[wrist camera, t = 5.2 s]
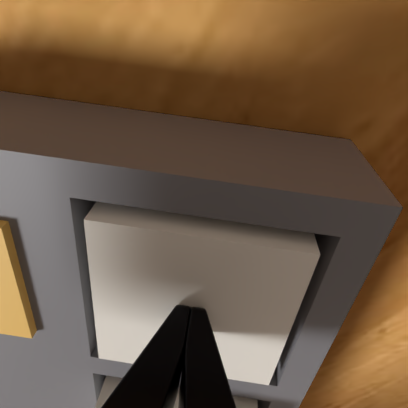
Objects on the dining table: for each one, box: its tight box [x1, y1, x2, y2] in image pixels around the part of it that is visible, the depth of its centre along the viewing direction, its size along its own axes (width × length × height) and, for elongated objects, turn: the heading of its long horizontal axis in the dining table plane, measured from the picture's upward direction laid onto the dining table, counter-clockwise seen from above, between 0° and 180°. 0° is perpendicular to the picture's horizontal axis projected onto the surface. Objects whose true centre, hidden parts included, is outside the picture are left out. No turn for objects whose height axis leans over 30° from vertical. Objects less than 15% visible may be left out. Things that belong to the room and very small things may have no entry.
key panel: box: [0, 91, 403, 408], centre depth 15 cm, size 23×14×4 cm, turn 174°
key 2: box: [84, 202, 320, 385], centre depth 10 cm, size 6×6×2 cm
